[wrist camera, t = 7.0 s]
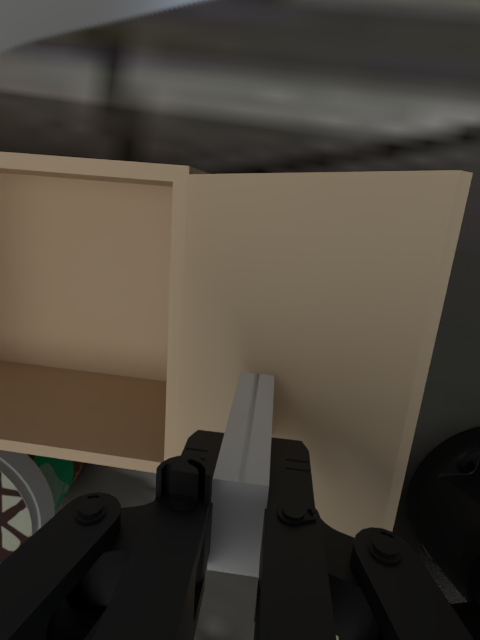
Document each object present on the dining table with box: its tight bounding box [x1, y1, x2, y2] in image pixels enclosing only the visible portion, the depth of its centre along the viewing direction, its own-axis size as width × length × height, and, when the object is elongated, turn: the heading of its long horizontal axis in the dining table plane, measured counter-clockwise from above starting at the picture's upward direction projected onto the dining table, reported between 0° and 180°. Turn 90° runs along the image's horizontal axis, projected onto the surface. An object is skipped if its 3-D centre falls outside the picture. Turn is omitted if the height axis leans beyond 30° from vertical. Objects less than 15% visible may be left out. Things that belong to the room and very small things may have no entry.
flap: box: [177, 170, 473, 640], centre depth 17 cm, size 17×14×1 cm
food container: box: [0, 450, 85, 564], centre depth 36 cm, size 12×6×10 cm, turn 152°
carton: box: [0, 152, 209, 473], centre depth 30 cm, size 18×28×12 cm, turn 86°
